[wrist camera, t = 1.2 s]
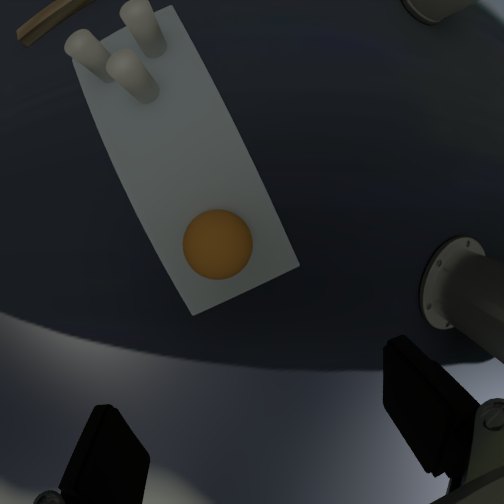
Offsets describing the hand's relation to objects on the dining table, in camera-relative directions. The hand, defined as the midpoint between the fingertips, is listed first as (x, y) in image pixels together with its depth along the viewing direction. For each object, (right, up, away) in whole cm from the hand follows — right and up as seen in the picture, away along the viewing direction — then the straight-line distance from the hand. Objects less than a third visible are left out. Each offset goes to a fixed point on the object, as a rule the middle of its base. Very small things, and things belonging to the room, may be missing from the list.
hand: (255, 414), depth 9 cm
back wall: (-17, +35, +11) cm, 41 cm away
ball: (-3, +6, +17) cm, 18 cm away
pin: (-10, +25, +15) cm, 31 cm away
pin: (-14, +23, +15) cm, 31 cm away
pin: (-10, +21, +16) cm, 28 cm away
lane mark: (-7, +15, +17) cm, 24 cm away
